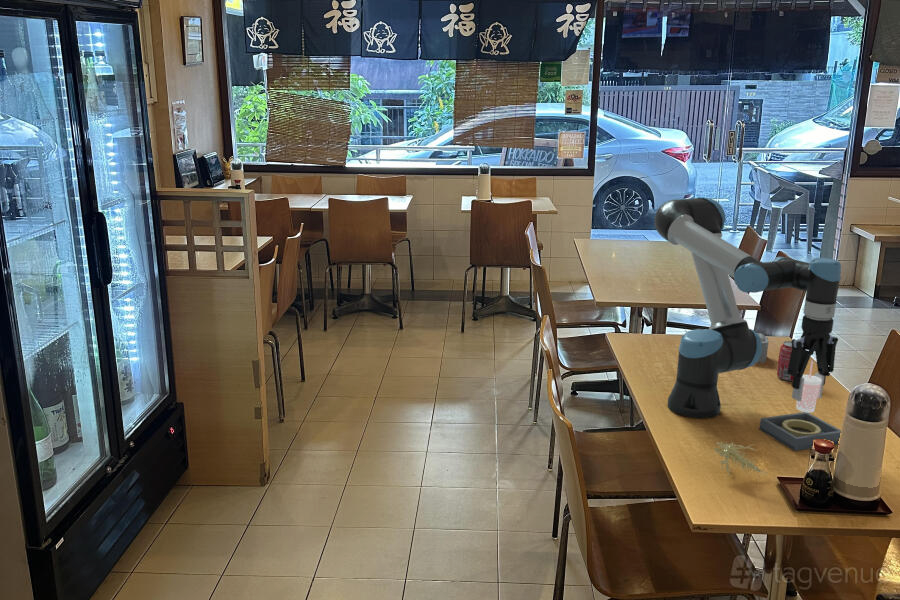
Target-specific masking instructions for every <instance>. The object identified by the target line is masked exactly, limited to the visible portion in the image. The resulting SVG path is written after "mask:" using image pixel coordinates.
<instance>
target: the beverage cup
mask: <svg viewBox="0 0 900 600" xmlns="http://www.w3.org/2000/svg"><path fill="white" fill-rule="evenodd" d="M813 365H814V360H811V361H810V368H809V374H803V376H802V377H803V378H805V379H804V386H803V392H802V399H801V401H797V400H796V403H795V404H796V405H795V407H796V408H795V409H796V410H798V412H799V411H800V412H801V413H802V412H807V413H810V414H812V413H814V412H815V410H816V405H817V399H818V398H817V396H818V392H819V387H820V384H821V382H822V379H820V378H819V377H816V376H815V375H812V372H813Z"/></svg>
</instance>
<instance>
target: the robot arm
mask: <svg viewBox="0 0 900 600" xmlns="http://www.w3.org/2000/svg"><path fill="white" fill-rule="evenodd" d="M726 219H727V218H726V213H725V210H724V208H723V207H722V205H721V204H720V203H719V202H718V201H716V200H715V199H713V198H708V197H696V198H683V199H682V198H681V199H676V198H675V199H671V200H667V201H665V202H663V203H662V204H661V205H660V206H659V207H658V209H657V210H656V212H655V216H654V227H655V230H656V232H658V234H659V235H660V237H662V238H663V239H665V240H666V242H669V243H670V244H671V245H673V246H674V245H675V246H678V245H680V246H682V247H683V248H685V249H686V250H688V251H690V252H691V256H692V258H693V262H694V266H695V269H696V270H695V271H696V274H697V277H698V281H699V285H700V288H701V292H702V295H703V299H704V303H705V307H706V310H707V313H708V317H709V321H710V326H709V328H704V329H701V328H696V329H692V330H688V331H686V332H685V333H684V334H683V335H682V336H681V338H680V342H679V346H678V358H677V359H678V360H677V368H676V378H675V379H676V380H675V383H674V384H673V387H672V390H671V391H670V394H669V395H668V398H667V408H668V409H669V410H670V411H671V412H673V413H675V414H677V415H680V416H683V417H686V418H687V417H688V418H692V419H713V418H715V417H717V416H719V415H720V413H721V407H722V406H721V405H722V403H721V399H720V395H719V394H720V393H719V390H718V381H719V380H718V379H719V374H722V373H723V374H724V373H728V372H733V371H741V370H745V369H747V368H750V367H752V366H755V364H757V363H758V362H757V361H758V360H759V357H760V356H761V353H762V342H761V339H760V336H759V335H758V334H757V333H758V332H756V331H755V330H754V329H752V328H750V327H749V324H748V320H746V319H744V318H742V317H741V316H740V312H739V309H738V306H737V301H736V298H735V294H734V290H733V287H732V284H731V280H730V277H731V278H733V280H734V284H735V285H736V287H737V289H738V290H739V291H741V292H743V293H746V294H747V293H752V294H753V293H754V294H755V293H760V292H765V291H772V290H780V289H781V290H782V289H788V288H792V289H796V290H800V291H802V292H806V293H805V299H804V306H803V314H804V315H803V316H802V321H801V329H802V334H801V335H800V338H798V339H795V338H792V340H791V341H792V351H791V356H790V361H789V366H788V371H787V373H788V374H790V375H792V376H793V381H792V382H791V383H792V384H791V387H792V395H791V398H792V399H793V400H796V402H797V401H801V399H802V392H803V386H804V379H805V378H803V377H802V376H803V375H805V374H804V373H805V371H806V369H807V366H808V364H809V360H811V356H813V355H814V353H815V359H816V367H817V372H815V373H814V376H816V377H819V378H820V379H822V382H821V384H820V387H819V392H818V396H817V399H820V400H821V399H822V395H823V389H824V386H825V384H826V380H827V379H826V378H827V377H829V376H830V374H831V373H833V372H834V368H835V360H836V359H835V357H836V349H837V348H836V347H837V344H838V342H839V338H838V337H836V336H833V335H830V334H831V333H832V332H833V327H834V317H835V314H836V313H835V311H836V306H837V297H838V293H839V287H840V282H841V278H842V276H841V273H842V263H841V262H840V261H839V260H837V259H833V258H827V257H814V258H812V259H811V260H810V262H807V261H802V260H799V259H795V258H792V257H785V256H776V257H775V258H774V259H772V260H771V261H766V262H765V261H764V262H763V261H760V260H758V259H757V258H755V257H754V256H752V255H750V254H749V253H747V252H745V251H744V250H742V249H740V248H738V247H737V246H735V245H733V244H732V243H730V242H728V241H726V240H725V239H723V238H722V237H723V233H722V231H723V230H724V228H725V223H726V221H727V220H726ZM729 276H730V277H729ZM798 372H799V373H798Z"/></svg>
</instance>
